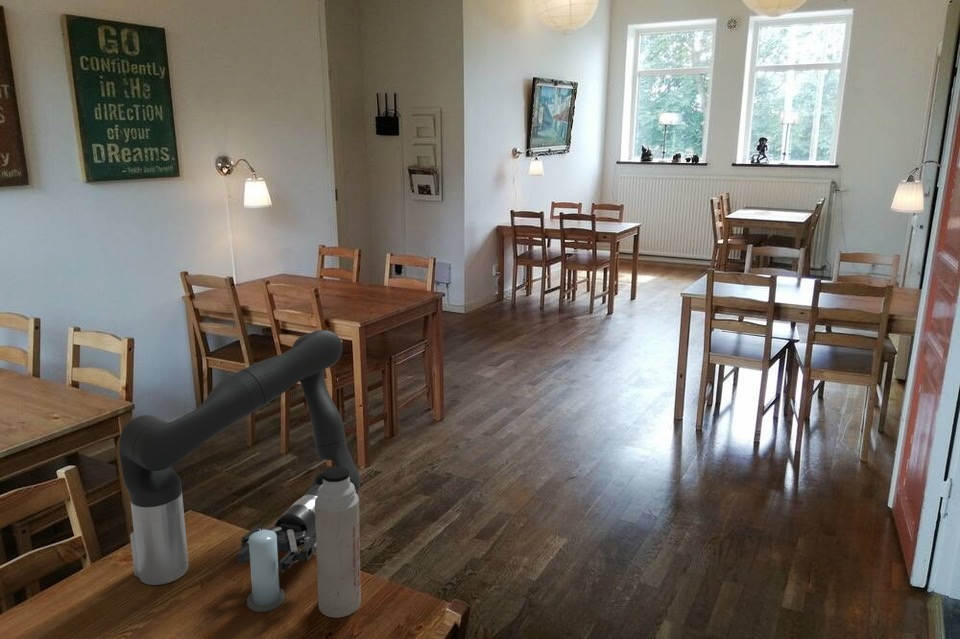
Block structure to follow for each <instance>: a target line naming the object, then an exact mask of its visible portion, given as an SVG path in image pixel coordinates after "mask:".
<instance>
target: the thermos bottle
mask: <svg viewBox="0 0 960 639" xmlns="http://www.w3.org/2000/svg"><path fill="white" fill-rule="evenodd" d="M322 471H323V472H322ZM322 471H321V472H322V478H323V484H322V485H321V486H320V487H319V489H318V493H317V495H318V496H317V498H316V499H315V524H316V532H315V534H316V551H315V552H316V564H317V565H316V566H317V602H318V603H317V604H318V605H317V606H318V609H319V612H321V613H322V615H324V616H326V617H329V618H334V619H335V618H336V619H337V618H342V617H343V618H344V617H347V616H350V615H352V614H353V613H355V612H356V611H357V610H358V609H359V608H360V606H361V601H362V599H361V598H362V597H361V592H362V591H361V551H360V550H361V546H360V542H361V541H360V498H359V495H358V493H357V494H356V490H355V487H354V485H353V484H352V483H351V482H350V477H349V470H348V469H347V468H345V467H341V466H330V467H327V468H325V469H323V470H322Z"/></svg>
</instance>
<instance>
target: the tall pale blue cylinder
mask: <svg viewBox="0 0 960 639" xmlns="http://www.w3.org/2000/svg"><path fill="white" fill-rule="evenodd" d="M249 551H250V558H249V564H250V579H251V593H252V597H253V602H254V603H255V604H257V605H262V606H263V605H269V604H272V603H274V602H276V601H277V600H278V599H279V596H280V591H279V588H280V576H279V575H280V574H279V573H280V572H279V566H278V564H279V556H278V554H279V552H278V550H277V535H276V533H275V532H274V531H271V530H268V529H267V530H261V531H257V532H255V533H253V534H252V535H251V536H250V537H249Z"/></svg>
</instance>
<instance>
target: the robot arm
mask: <svg viewBox="0 0 960 639" xmlns="http://www.w3.org/2000/svg"><path fill="white" fill-rule="evenodd" d="M342 353H343V342H342V339H341V338H340V337H339V336H338V334H336V333H335V332H333V331H331V330H327V329H320V330H319V329H318V330H314V331H311V332H309V333H307V334H304V335H301V336H300V337H298V338H297V339H296V340H295V341H294V342H293V344H292V348H291V349H288V350H287V351H285V352H283V353H280V354H278V355H275V356H272V357H269V358H267V359H264V360H261V361H258V362H255V363H254V364H251V365H249V366H247V367H244V368H243V369H241V370H239V371H236V372H235V373H232V374H231V375H229V376H227V377H226V378H224V379H223V380H221V381H220V382H219V383H217V385H215V386H214V387H213V389H212V390H211V391H210V392H209V394H208V395H207V396H206V399H204V401H203V402H202V403H201V405H199V406H198V407H197V408H195V409H193V410H192V411H190V412H189V413H187V414H184V415H182V416H181V417H179V418H176V419H174V420H172V421H166V420H163V419H161V418H159V417H156V416H154V415H149V414H143V415H139V416H136V417H134V418H132V419H131V420H129V421H128V422H127V423H126V424H125V425H124V427H123V428H122V430H121V433H120V436H119V439H118V451H119V460H120V466H121V473H122V479H123V482H124V485H125V488H126V489H127V492H128V494H129V499H130V508H131V516H132V518H131V519H132V525H133V527H132V528H133V531H132V532H131V533H130V535H129V538H130V547H131V556H132V563H133V573H134V577H136V578H138V579H139V581H141V583H143V584H145V585H149V586H159V585H160V586H161V585H165V584H169V583H172V582H174V581H177V580H178V579H180V578H182V577H183V576H184V575H185V574H186V573H187V572H188V570H189V566H190V565H189V557H188V556H189V555H188V547H187V546H188V545H187V535H186V522H185V513H184V512H185V511H184V500H183V489H182V481H181V478H180V477H179V475H178V473H177V472H176V471H175V470H174V468H173V466H174V465H176V464H178V463H179V462H181V461H182V460H183V459H184V458H186V457H187V456H189V455H190V454H192V452H193V451H195V450H197V448H199V447H200V446H202V445H203V444H205V443H206V442H207V441H209V440H210V439H212V438H213V437H215V436H216V435H218V434H219V433H221V432H223V431H224V430H226V429H228V428H229V427H231V426H232V425H234V424H235V423H237V422H239V421H241V420H242V419H245V418H246V417H248V416H250V415H251V414H253V413H255V412H257V411H258V410H260V409H261V408H263V407H264V406H266V405H268V404H269V403H270V402H272V401H274V400H275V399H277V398H279V396H281V395H283V394H284V393H285V392H287V391H288V390H290V389H291V388H292V387H294V386H295V385H297V384H298V383H299V382H300V386H301V389H302V392H303V395H304V398H305V402H306V405H307V408H308V409H307V410H308V412H309V417H310V421H311V425H312V426H311V427H312V432H313V439H314V444H315V449H316V455H317V457H318V458H319V459H320V460H324V461H331V462H332V463H333V464H334V465H335V466H341V467H345V468H347V469H348V470H349V477H350V482H351V483H352V484H353V485H354V487H355V490H356V494H357V495H358V493H359V491H360V489H361V488H360V487H361V476H360V473H359V471H358V468H357V467H356V464H355V462H354V460H353V458H352V455H351V453H350V451H349V448H348V446H347V440H346V434H345V429H344V428H345V427H344V423H343V419H342V417H341V414H340V412H339V410H338V408H337V406H336V404H335V403H334V401H333V399H332V397H331V395H330V393H329V390H328V388H327V384H326V380H325V378H326V377H325V369H329V368H331V367H333V366H334V365H335V364H336V363H338V362H339V360H340V358H341V356H342ZM335 466H334V467H335ZM323 471H324V470H322V471H320V472H319V473H318V474H317V475H315V477H314V478H313V480H312V483H311V485H310V487H309V490H308V491H307V492H306V493H305V494H304V495H303V496H302V497H300V498H299V499H297V500H296V501H295V502H294V503H293V504H291V506H290V507H289V508H288V509H286V510H285V512H284V513H282V514H281V516H279V517H278V519H277V520H276V523H275V524H274V526H272V527H270V528H268V529H267V528H266V529H265V528H263V525H262V524H260V523H259V524H257V525H256V524H255V525H256V526H254V527H253V528H252V529H250V530H249V531H248V532H247V533H246V534H244V535H243V536H242V537H241V538H240V541H241V549H240V550H239V551H238V553H237V561H238V562H237V563H238V565H244V564H245V563H246V562H247V561H248V560H250V551H249V537H250V536H251V535H252V534H253V533H255V532H257V531H261V530H271V531H274V532H275V533H276V535H277V551H279V552H282V553H285V552H287V553H285V555H284V556H283V557H282V558H281V559H280V560H279V561H278V572H279V573H284V572H285V571H288V570H289V569H290V568H291V566H292V565H293V564H294V563H295V564H296V563H297V562H299V561H301V562H302V563H307V562H308V561H309V560H310V558H311V557H312V556H313V555H314V553H315V552H316V524H315V499H316V498H317V496H318V495H317V493H318V489H319V487H320V486H321V485H322V484H323V478H322V472H323ZM302 546H303V547H302ZM300 547H302V548H301V549H300V550H299V549H298V548H300Z"/></svg>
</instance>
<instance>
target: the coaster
mask: <svg viewBox="0 0 960 639" xmlns="http://www.w3.org/2000/svg"><path fill="white" fill-rule="evenodd" d="M279 591H280V596H279V599H278V600H277V601H276V602H274V603H272V604H269V605H263V606H262V605H257V604H255V603H254V602H253V597H252V592H251V593H249V595H248V596H247V598H246V607H247V608H248V609H249V610H251V611H253V612H256V613H268V612H271V611H273V610H276V609H278V608H279V607H280V606H282V605H283V603H284V602H285V600H286V599H285V598H286V595H285V594H286V593H285V591H284V590H283V588H281V587H279Z"/></svg>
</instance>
